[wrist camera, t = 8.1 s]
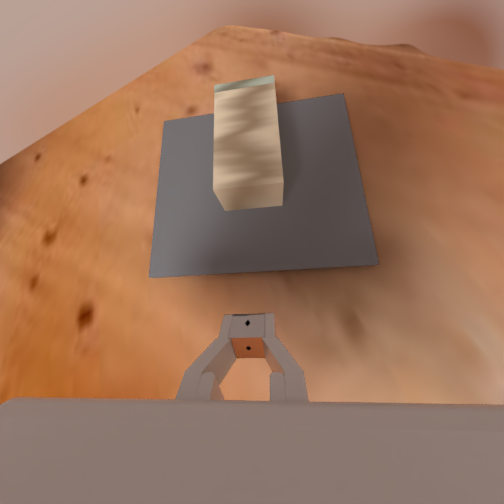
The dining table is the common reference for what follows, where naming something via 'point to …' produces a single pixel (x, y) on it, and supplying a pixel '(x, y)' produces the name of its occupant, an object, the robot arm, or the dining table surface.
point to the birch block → (247, 145)
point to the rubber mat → (267, 218)
